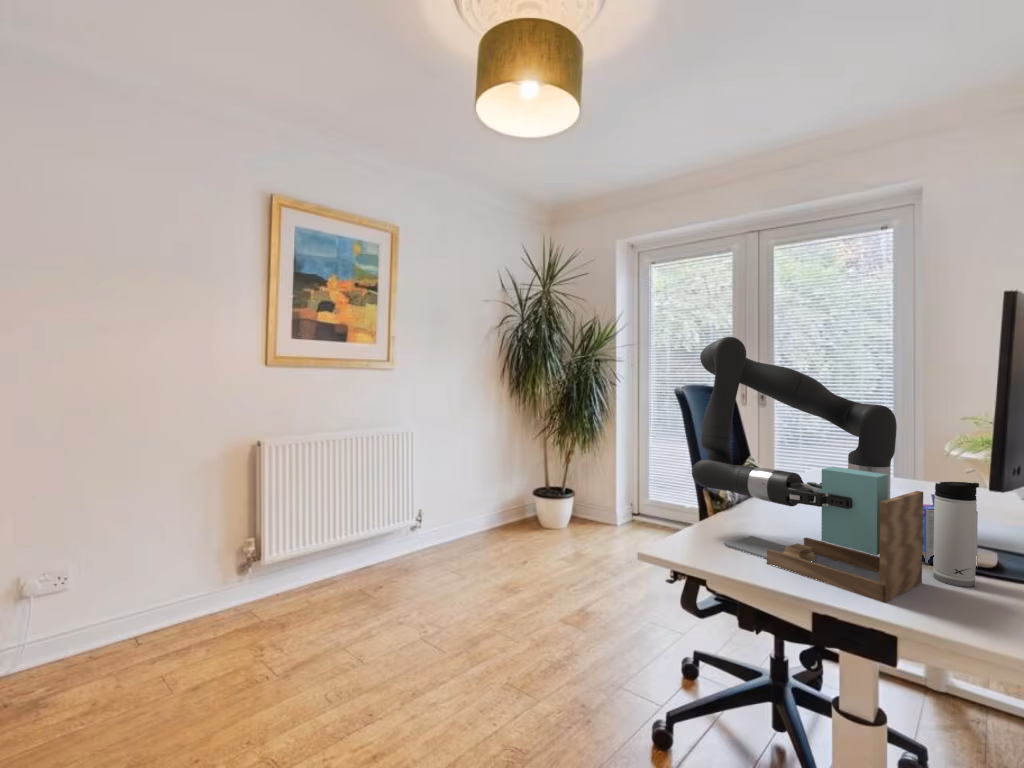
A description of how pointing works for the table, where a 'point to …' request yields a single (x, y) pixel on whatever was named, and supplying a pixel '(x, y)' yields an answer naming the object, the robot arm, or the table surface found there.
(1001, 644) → the table surface
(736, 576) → the table surface
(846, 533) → the teal panel
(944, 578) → the travel mug
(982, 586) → the table surface
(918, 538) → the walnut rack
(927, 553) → the ink cartridge box
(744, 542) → the slate mat
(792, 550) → the offcut stack
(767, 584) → the table surface
